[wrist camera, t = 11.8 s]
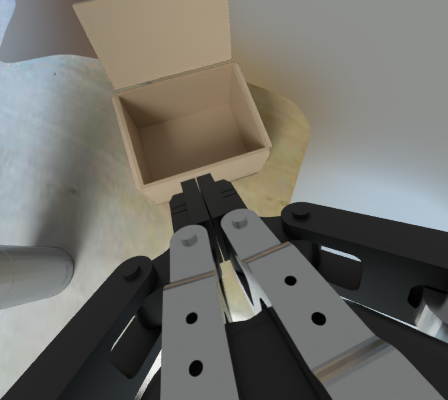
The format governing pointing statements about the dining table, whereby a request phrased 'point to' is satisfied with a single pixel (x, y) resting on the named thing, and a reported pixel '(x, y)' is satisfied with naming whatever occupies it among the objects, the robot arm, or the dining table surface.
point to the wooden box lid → (155, 36)
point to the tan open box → (191, 130)
